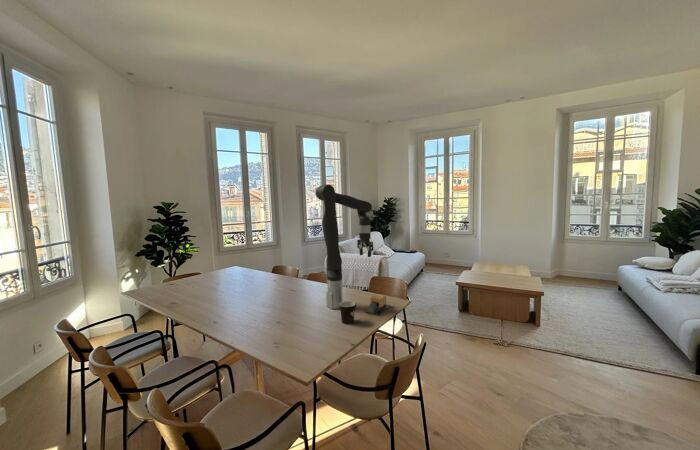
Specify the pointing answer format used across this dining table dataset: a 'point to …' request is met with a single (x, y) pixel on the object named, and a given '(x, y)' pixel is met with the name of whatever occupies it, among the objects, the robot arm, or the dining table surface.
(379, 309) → the rail
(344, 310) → the coffee mug
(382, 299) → the block
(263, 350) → the dining table surface
